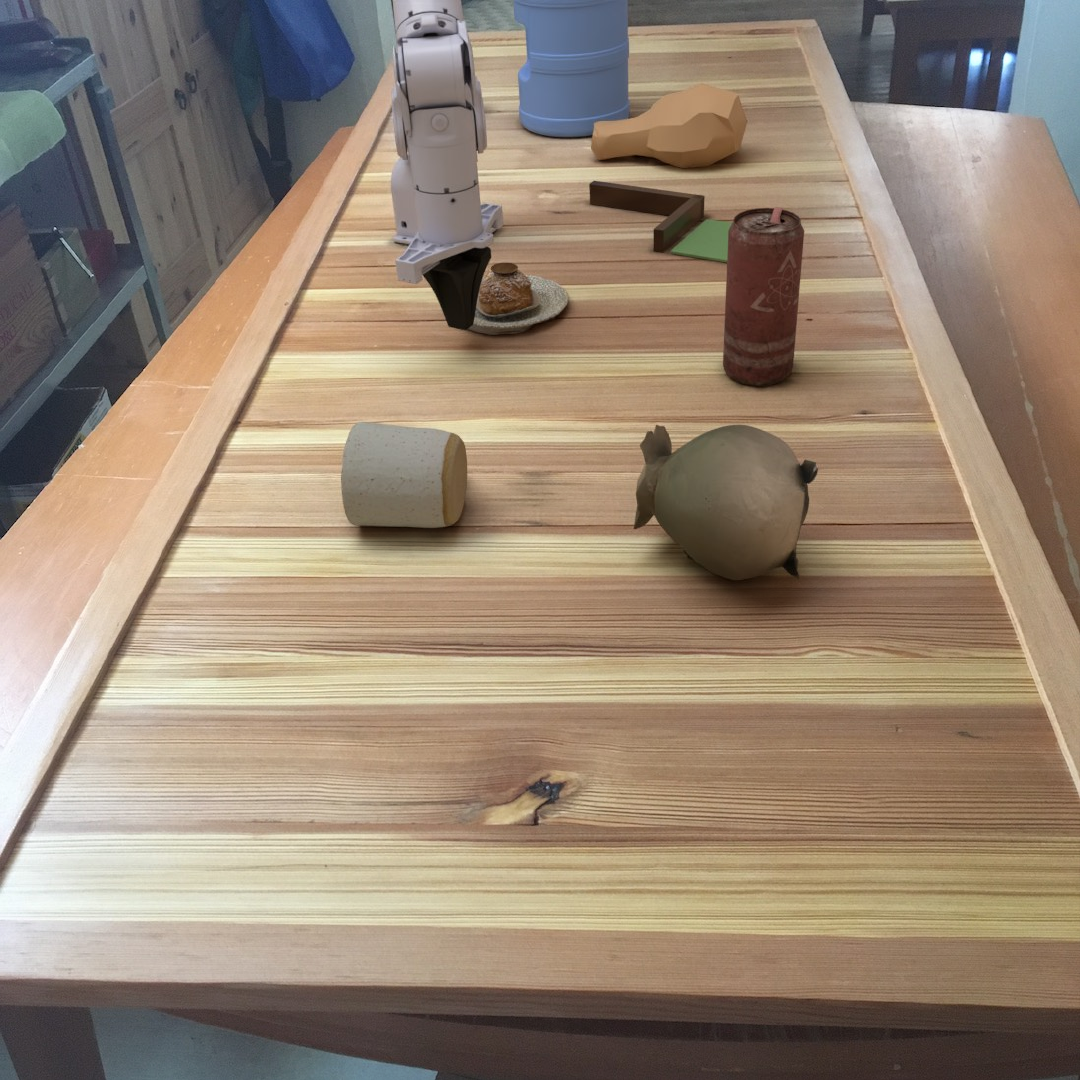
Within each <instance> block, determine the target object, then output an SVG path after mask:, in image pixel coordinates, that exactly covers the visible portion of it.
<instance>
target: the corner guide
mask: <svg viewBox="0 0 1080 1080" xmlns="http://www.w3.org/2000/svg"><path fill="white" fill-rule="evenodd" d="M588 186H589V205H592V206H600V207H606V208H614V209H620V210H621V209H622V210H628V211H634V212H640V213H641V212H642V213H648V214H655V215H661V216H667V217H666V218H665V219H664V220H663V221H661V222H660V223H659V224H658V225H656V226H655V227H654V228H653V248H652V249H653V252H659V253H665V252H666V251H667V250H668V249H669V248H670V247H671V246H672V245H674V244H675V243H676V242H677V241H678V240H679V239H681V238H682V237H683V236H684V235H686V233H687V232H688V231H690V230H691V229H692V228H693V227H694V226H695V225H696V224H697V223H699V222H700V221H701V220H702V219H703V218H704V217H705V198H706V197H705V195H703V194H696V193H695V194H694V193H688V192H680V191H672V190H666V189H658V188H652V187H651V188H650V187H644V186H637V185H629V184H622V183H615V182H607V181H600V180H593V181H591V182H590V183H589V184H588Z"/></svg>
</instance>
